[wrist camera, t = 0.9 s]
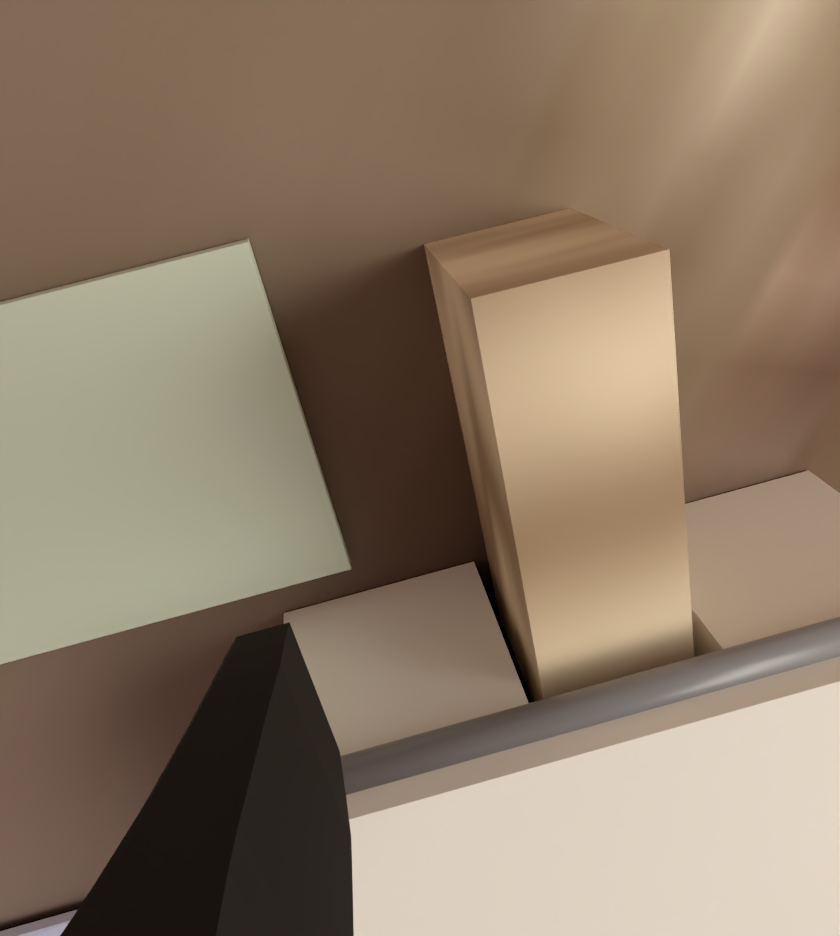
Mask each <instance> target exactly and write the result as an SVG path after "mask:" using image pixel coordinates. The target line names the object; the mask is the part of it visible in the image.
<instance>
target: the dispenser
mask: <svg viewBox="0 0 840 936" xmlns="http://www.w3.org/2000/svg"><path fill="white" fill-rule="evenodd" d="M685 513H686V529H687V545H688V561H689V578H690V594H691V610H692V626H693V643H694V657H693V658H689V659H686V660H682V661H678V662H675V663H671V664H668V665H664V666H660V667H657V668H653V669H650V670H646V671H643V672H639V673H635V674H632V675H628V676H625V677H621V678H618V679H614V680H610V681H607V682H603V683H600V684H596V685H592V686H589V687H585V688H582V689H578V690H575V691H571V692H567V693H564V694H560V695H557V696H553V697H549V698H546V699H542V700H539V701H535V702H532V703H528V700H527V697H526V695H525V692H524V690H523V687H522V684H521V682H520V679H519V677H518V674H517V672H516V669H515V666H514V664H513V661H512V659H511V656H510V653H509V651H508V648H507V646H506V643H505V640H504V638H503V635H502V633H501V630H500V628H499V625H498V622H497V620H496V617H495V615H494V612H493V609H492V607H491V604H490V602H489V599H488V597H487V594H486V591H485V589H484V586H483V584H482V581H481V578H480V576H479V573H478V571H477V568H476V565H475V563H474V562H470V563H466V564H463V565H459V566H455V567H452V568H448V569H444V570H441V571H437V572H433V573H430V574H426V575H422V576H419V577H415V578H411V579H408V580H404V581H400V582H397V583H393V584H389V585H386V586H382V587H378V588H375V589H371V590H367V591H363V592H360V593H356V594H352V595H349V596H345V597H341V598H338V599H334V600H330V601H327V602H323V603H319V604H316V605H312V606H308V607H305V608H301V609H297V610H294V611H290V612H286V613H284V624H285V623H289V622H290V625H291V627H292V630H293V632H294V635H295V638H296V640H297V643H298V645H299V648H300V650H301V653H302V656H303V658H304V661H305V663H306V666H307V668H308V671H309V674H310V676H311V679H312V681H313V684H314V686H315V689H316V692H317V694H318V697H319V699H320V702H321V704H322V707H323V710H324V712H325V715H326V717H327V720H328V722H329V725H330V728H331V730H332V733H333V735H334V738H335V740H336V743H337V745H338V748H339V751H340V757H341V764H342V771H343V778H344V785H345V792H346V800H347V808H348V815H349V823H350V831H351V846H352V884H353V930H354V936H840V493H839V492H837V491H836V490H835V489H833V488H832V487H830V486H829V485H828V484H826V483H825V482H824V481H822V480H821V479H820V478H818V477H817V476H815V475H814V474H813V473H811V472H810V471H809V470H808V471H804V472H801V473H797V474H793V475H790V476H786V477H782V478H779V479H775V480H771V481H768V482H764V483H760V484H757V485H753V486H749V487H746V488H742V489H738V490H735V491H731V492H727V493H724V494H720V495H716V496H712V497H709V498H705V499H701V500H698V501H694V502H690V503H687V504H685Z"/></svg>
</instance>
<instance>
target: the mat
mask: <svg viewBox="0 0 840 936" xmlns="http://www.w3.org/2000/svg"><path fill="white" fill-rule="evenodd" d="M350 569H351V564H350V559H349V555H348V552H347V549H346V546H345V543H344V540H343V536H342V533H341V530H340V527H339V524H338V521H337V517H336V514H335V511H334V508H333V505H332V502H331V498H330V495H329V492H328V489H327V486H326V483H325V479H324V476H323V473H322V470H321V467H320V464H319V460H318V457H317V454H316V451H315V448H314V445H313V441H312V438H311V435H310V432H309V429H308V426H307V422H306V419H305V416H304V413H303V410H302V407H301V403H300V400H299V397H298V394H297V391H296V388H295V384H294V381H293V378H292V375H291V372H290V369H289V365H288V362H287V359H286V356H285V353H284V350H283V346H282V343H281V340H280V337H279V334H278V331H277V327H276V324H275V321H274V318H273V315H272V312H271V308H270V305H269V302H268V299H267V296H266V293H265V289H264V286H263V283H262V280H261V277H260V274H259V270H258V267H257V264H256V261H255V258H254V255H253V251H252V248H251V245H250V242H249V239H245V240H241V241H237V242H233V243H229V244H225V245H221V246H217V247H214V248H210V249H206V250H202V251H198V252H194V253H190V254H186V255H182V256H178V257H174V258H170V259H167V260H163V261H159V262H155V263H151V264H147V265H143V266H139V267H135V268H131V269H127V270H123V271H120V272H116V273H112V274H108V275H104V276H100V277H96V278H92V279H88V280H84V281H80V282H76V283H73V284H69V285H65V286H61V287H57V288H53V289H49V290H45V291H41V292H37V293H33V294H29V295H26V296H22V297H18V298H14V299H10V300H6V301H2V302H0V664H3V663H7V662H11V661H14V660H18V659H22V658H26V657H29V656H33V655H37V654H40V653H44V652H48V651H51V650H55V649H59V648H62V647H66V646H70V645H73V644H77V643H81V642H85V641H88V640H92V639H96V638H99V637H103V636H107V635H110V634H114V633H118V632H121V631H125V630H129V629H132V628H136V627H140V626H144V625H147V624H151V623H155V622H158V621H162V620H166V619H169V618H173V617H177V616H180V615H184V614H188V613H192V612H195V611H199V610H203V609H206V608H210V607H214V606H217V605H221V604H225V603H228V602H232V601H236V600H239V599H243V598H247V597H251V596H254V595H258V594H262V593H265V592H269V591H273V590H276V589H280V588H284V587H287V586H291V585H295V584H298V583H302V582H306V581H310V580H313V579H317V578H321V577H324V576H328V575H332V574H335V573H339V572H343V571H346V570H350Z"/></svg>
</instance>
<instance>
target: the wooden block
mask: <svg viewBox="0 0 840 936" xmlns="http://www.w3.org/2000/svg"><path fill="white" fill-rule="evenodd" d="M424 248H425V252H426V257H427V262H428V267H429V272H430V277H431V282H432V287H433V292H434V297H435V302H436V306H437V311H438V316H439V321H440V326H441V331H442V336H443V341H444V346H445V351H446V356H447V360H448V365H449V370H450V375H451V380H452V385H453V390H454V395H455V400H456V405H457V410H458V414H459V419H460V424H461V429H462V434H463V439H464V444H465V449H466V454H467V459H468V463H469V468H470V473H471V478H472V483H473V488H474V493H475V498H476V503H477V508H478V513H479V517H480V522H481V527H482V532H483V537H484V542H485V547H486V552H487V557H488V562H489V567H490V571H491V576H492V581H493V586H494V591H495V596H496V601H497V606H498V611H499V616H500V619H501V621H502V624H503V627H504V629H505V632H506V634H507V637H508V639H509V642H510V644H511V647H512V649H513V652H514V654H515V657H516V660H517V662H518V665H519V667H520V670H521V672H522V675H523V677H524V680H525V682H526V685H527V688H528V690H529V693H530V695H531V698H532V700H533V702H535V701H539V700H542V699H546V698H549V697H553V696H557V695H560V694H564V693H567V692H571V691H575V690H578V689H582V688H585V687H589V686H592V685H596V684H600V683H603V682H607V681H610V680H614V679H618V678H621V677H625V676H628V675H632V674H635V673H639V672H643V671H646V670H650V669H653V668H657V667H660V666H664V665H668V664H671V663H675V662H678V661H682V660H686V659H689V658H693V657H694V643H693V626H692V610H691V594H690V578H689V561H688V545H687V529H686V513H685V496H684V480H683V464H682V447H681V431H680V415H679V399H678V382H677V366H676V350H675V334H674V317H673V301H672V285H671V269H670V252H669V249H667V248H665V247H663V246H660V245H658V244H655V243H653V242H651V241H648V240H646V239H643V238H641V237H639V236H636V235H634V234H631V233H629V232H627V231H624V230H622V229H619V228H617V227H615V226H612V225H610V224H607V223H605V222H603V221H600V220H598V219H595V218H593V217H591V216H588V215H586V214H583V213H581V212H579V211H576V210H574V209H571V208H569V209H565V210H561V211H557V212H553V213H549V214H545V215H540V216H536V217H532V218H528V219H524V220H520V221H516V222H512V223H508V224H504V225H500V226H496V227H492V228H488V229H484V230H479V231H475V232H471V233H467V234H463V235H459V236H455V237H451V238H447V239H443V240H439V241H435V242H431V243H427V244H424Z"/></svg>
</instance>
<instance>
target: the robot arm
mask: <svg viewBox="0 0 840 936" xmlns="http://www.w3.org/2000/svg"><path fill="white" fill-rule="evenodd" d="M0 936H354V930H353V884H352V846H351V831H350V823H349V815H348V808H347V800H346V792H345V785H344V778H343V771H342V764H341V757H340V751H339V748H338V745H337V743H336V740H335V738H334V735H333V733H332V730H331V728H330V725H329V722H328V720H327V717H326V715H325V712H324V710H323V707H322V704H321V702H320V699H319V697H318V694H317V692H316V689H315V686H314V684H313V681H312V679H311V676H310V674H309V671H308V668H307V666H306V663H305V661H304V658H303V656H302V653H301V650H300V648H299V645H298V643H297V640H296V638H295V635H294V632H293V630H292V627H291V625H290V622H289V623H285V624H282V625H278V626H274V627H271V628H267V629H264V630H260V631H257V632H253V633H249V634H246V635H242V636H239V637H237V638H236V639H235V641H234V643H233V644H232V646H231V647H230V649H229V651H228V653H227V655H226V657H225V658H224V660H223V662H222V664H221V666H220V668H219V670H218V672H217V673H216V675H215V677H214V679H213V681H212V683H211V685H210V687H209V689H208V691H207V692H206V694H205V696H204V698H203V700H202V702H201V704H200V706H199V708H198V709H197V711H196V713H195V715H194V717H193V719H192V721H191V722H190V724H189V726H188V728H187V730H186V732H185V734H184V736H183V737H182V739H181V741H180V743H179V744H178V746H177V748H176V750H175V752H174V753H173V755H172V757H171V759H170V760H169V762H168V764H167V766H166V767H165V769H164V771H163V773H162V774H161V776H160V778H159V780H158V782H157V783H156V785H155V787H154V789H153V790H152V792H151V794H150V796H149V797H148V799H147V801H146V802H145V804H144V806H143V808H142V809H141V811H140V813H139V814H138V816H137V817H136V819H135V821H134V822H133V824H132V825H131V827H130V829H129V830H128V832H127V833H126V835H125V837H124V838H123V840H122V841H121V843H120V845H119V846H118V848H117V849H116V851H115V853H114V854H113V856H112V857H111V859H110V860H109V862H108V864H107V865H106V867H105V868H104V870H103V872H102V873H101V875H100V876H99V878H98V880H97V881H96V883H95V884H94V886H93V888H92V889H91V891H90V892H89V894H88V895H87V897H86V898H85V900H84V901H83V903H82V904H81V906H80V907H79V909H77V910H74V911H70V912H67V913H63V914H59V915H56V916H52V917H49V918H45V919H42V920H38V921H35V922H31V923H28V924H24V925H21V926H17V927H14V928H10V929H6V930H3V931H0Z"/></svg>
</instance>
